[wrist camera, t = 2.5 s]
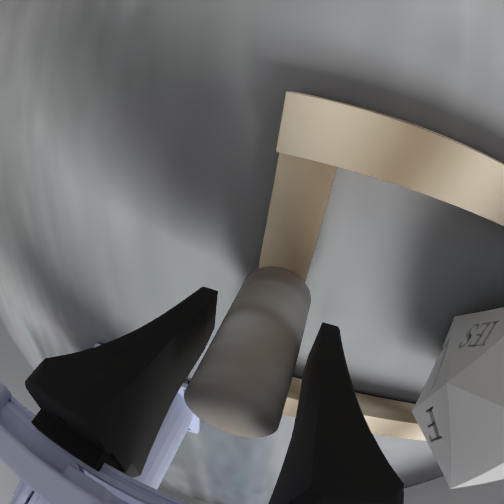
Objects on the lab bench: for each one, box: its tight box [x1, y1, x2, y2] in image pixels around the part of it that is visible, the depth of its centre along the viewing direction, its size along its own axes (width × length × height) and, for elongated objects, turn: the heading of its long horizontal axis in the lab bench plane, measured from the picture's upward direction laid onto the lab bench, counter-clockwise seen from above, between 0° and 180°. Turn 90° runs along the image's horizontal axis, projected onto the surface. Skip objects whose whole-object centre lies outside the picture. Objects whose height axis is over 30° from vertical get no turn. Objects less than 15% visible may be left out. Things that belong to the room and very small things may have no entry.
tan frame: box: [184, 91, 504, 441], centre depth 10 cm, size 20×16×7 cm
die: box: [411, 307, 504, 489], centre depth 9 cm, size 8×9×10 cm
